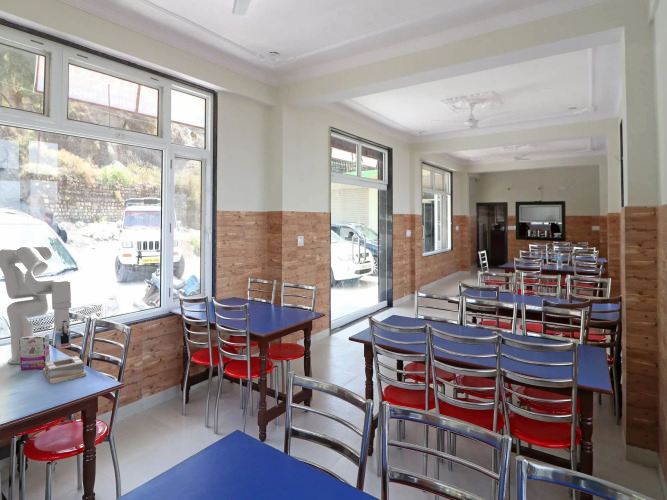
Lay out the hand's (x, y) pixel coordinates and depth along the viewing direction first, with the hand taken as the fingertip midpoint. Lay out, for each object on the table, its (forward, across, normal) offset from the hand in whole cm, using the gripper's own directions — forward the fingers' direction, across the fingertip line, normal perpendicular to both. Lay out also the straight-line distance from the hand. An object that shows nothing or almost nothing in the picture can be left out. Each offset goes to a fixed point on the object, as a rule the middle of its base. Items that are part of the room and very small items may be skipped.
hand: (63, 341), depth 189 cm
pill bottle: (+3, 0, 0) cm, 3 cm away
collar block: (+16, 0, 0) cm, 16 cm away
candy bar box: (+16, -18, -9) cm, 26 cm away
